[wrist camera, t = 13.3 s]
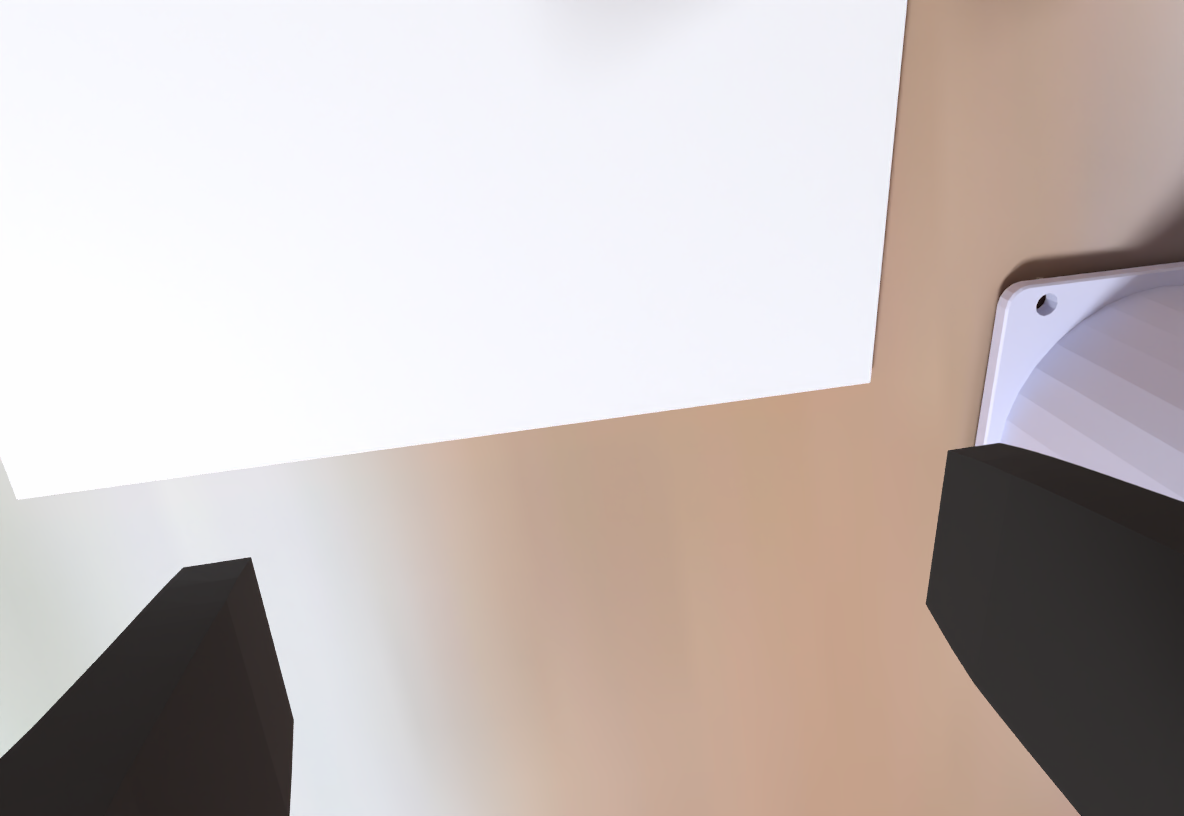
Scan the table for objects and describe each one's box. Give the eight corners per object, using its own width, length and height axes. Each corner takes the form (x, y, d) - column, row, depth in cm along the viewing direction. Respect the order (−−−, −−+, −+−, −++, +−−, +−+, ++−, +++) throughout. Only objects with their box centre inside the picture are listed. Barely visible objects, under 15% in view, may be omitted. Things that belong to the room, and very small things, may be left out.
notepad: (923, -259, 15) (933, -263, 15) (864, 377, 21) (870, 382, 20) (-261, -246, 12) (-275, -251, 12) (23, 492, 18) (16, 499, 17)
